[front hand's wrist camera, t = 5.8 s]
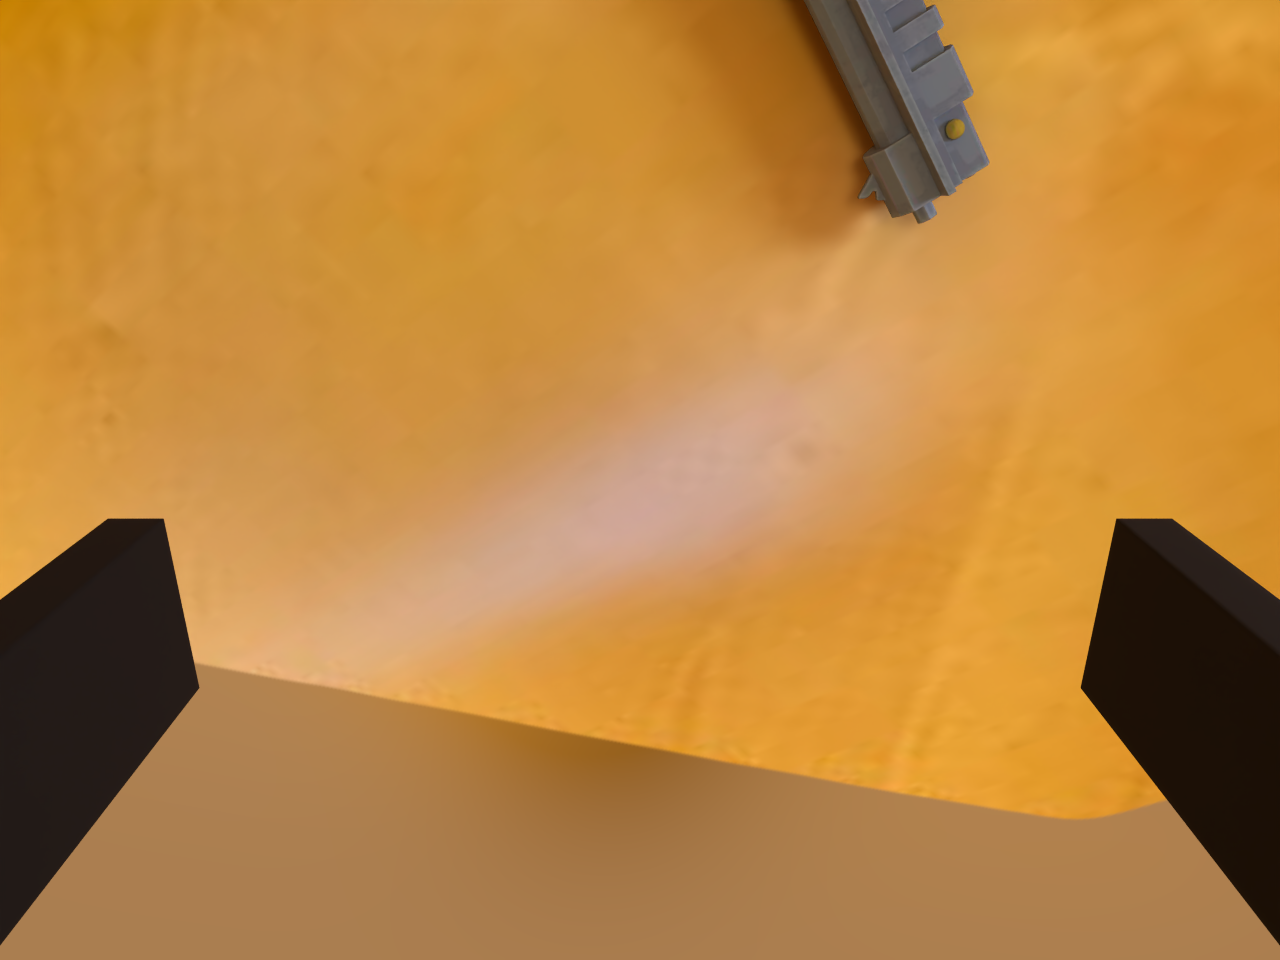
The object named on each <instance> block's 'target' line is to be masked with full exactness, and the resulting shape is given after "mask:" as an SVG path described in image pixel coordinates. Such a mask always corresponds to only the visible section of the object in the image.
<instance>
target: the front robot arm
mask: <svg viewBox="0 0 1280 960" xmlns="http://www.w3.org/2000/svg"><path fill="white" fill-rule="evenodd" d="M198 689H199V684H198V679H197V675H196V670H195V665H194V660H193V656H192V651H191V646H190V641H189V637H188V632H187V627H186V622H185V618H184V613H183V608H182V603H181V599H180V594H179V589H178V585H177V580H176V575H175V570H174V566H173V561H172V556H171V551H170V547H169V542H168V537H167V532H166V528H165V523H164V519H107V520H106V521H104V522H103V523H102V524H100V525H99V526H98V527H96V528H95V529H94V530H92V531H91V532H90V533H88V534H87V535H86V536H84V537H83V538H82V539H80V540H79V541H78V542H76V543H75V544H74V545H72V546H71V547H70V548H68V549H67V550H66V551H64V552H63V553H62V554H60V555H59V556H58V557H56V558H55V559H54V560H52V561H51V562H50V563H48V564H47V565H46V566H44V567H43V568H42V569H40V570H39V571H38V572H37V573H35V574H34V575H33V576H31V577H30V578H29V579H27V580H26V581H25V582H23V583H22V584H21V585H19V586H18V587H17V588H15V589H14V590H13V591H11V592H10V593H9V594H7V595H6V596H5V597H3V598H2V599H1V600H0V945H1V944H2V942H3V941H4V940H5V938H6V937H7V936H8V935H9V933H10V932H11V931H12V929H13V928H14V927H15V925H16V924H17V923H18V922H19V920H20V919H21V918H22V916H23V915H24V914H25V913H26V911H27V910H28V909H29V907H30V906H31V905H32V903H33V902H34V901H35V900H36V898H37V897H38V896H39V894H40V893H41V892H42V891H43V889H44V888H45V887H46V885H47V884H48V883H49V882H50V880H51V879H52V878H53V876H54V875H55V874H56V872H57V871H58V870H59V869H60V867H61V866H62V865H63V863H64V862H65V861H66V859H67V858H68V857H69V856H70V854H71V853H72V852H73V850H74V849H75V848H76V847H77V845H78V844H79V843H80V841H81V840H82V839H83V837H84V836H85V835H86V834H87V832H88V831H89V830H90V829H91V827H92V826H93V825H94V823H95V822H96V821H97V819H98V818H99V817H100V816H101V814H102V813H103V812H104V810H105V809H106V808H107V807H108V805H109V804H110V803H111V801H112V800H113V799H114V797H115V796H116V795H117V794H118V792H119V791H120V790H121V788H122V787H123V786H124V785H125V783H126V782H127V781H128V779H129V778H130V777H131V776H132V774H133V773H134V772H135V770H136V769H137V768H138V766H139V765H140V764H141V763H142V761H143V760H144V759H145V757H146V756H147V755H148V754H149V752H150V751H151V750H152V748H153V747H154V746H155V745H156V743H157V742H158V741H159V739H160V738H161V737H162V735H163V734H164V733H165V732H166V730H167V729H168V728H169V726H170V725H171V724H172V722H173V721H174V720H175V719H176V717H177V716H178V715H179V713H180V712H181V711H182V710H183V708H184V707H185V706H186V704H187V703H188V702H189V701H190V699H191V698H192V697H193V695H194V694H195V693H196V691H197V690H198ZM1081 689H1082V690H1083V692H1084V693H1085V694H1086V695H1087V697H1088V698H1089V699H1090V701H1091V702H1092V703H1093V704H1094V706H1095V707H1096V708H1097V710H1098V711H1099V712H1100V713H1101V715H1102V716H1103V717H1104V719H1105V720H1106V721H1107V723H1108V724H1109V725H1110V726H1111V728H1112V729H1113V730H1114V732H1115V733H1116V734H1117V735H1118V737H1119V738H1120V739H1121V741H1122V742H1123V743H1124V745H1125V746H1126V747H1127V748H1128V750H1129V751H1130V752H1131V754H1132V755H1133V756H1134V757H1135V759H1136V760H1137V761H1138V763H1139V764H1140V765H1141V766H1142V768H1143V769H1144V770H1145V772H1146V773H1147V774H1148V776H1149V777H1150V778H1151V779H1152V781H1153V782H1154V783H1155V785H1156V786H1157V787H1158V788H1159V790H1160V791H1161V792H1162V794H1163V795H1164V796H1165V797H1166V799H1167V800H1168V801H1169V803H1170V804H1171V805H1172V807H1173V808H1174V809H1175V810H1176V812H1177V813H1178V814H1179V816H1180V817H1181V818H1182V819H1183V821H1184V822H1185V823H1186V825H1187V826H1188V827H1189V829H1190V830H1191V831H1192V832H1193V834H1194V835H1195V836H1196V838H1197V839H1198V840H1199V841H1200V843H1201V844H1202V845H1203V847H1204V848H1205V849H1206V850H1207V852H1208V853H1209V854H1210V856H1211V857H1212V858H1213V859H1214V861H1215V862H1216V863H1217V865H1218V866H1219V867H1220V869H1221V870H1222V871H1223V872H1224V874H1225V875H1226V876H1227V878H1228V879H1229V880H1230V882H1231V883H1232V884H1233V885H1234V887H1235V888H1236V889H1237V891H1238V892H1239V893H1240V894H1241V896H1242V897H1243V898H1244V900H1245V901H1246V902H1247V903H1248V905H1249V906H1250V907H1251V909H1252V910H1253V911H1254V913H1255V914H1256V915H1257V916H1258V918H1259V919H1260V920H1261V922H1262V923H1263V924H1264V925H1265V927H1266V928H1267V929H1268V931H1269V932H1270V933H1271V935H1272V936H1273V937H1274V938H1275V940H1276V941H1277V942H1278V943H1279V945H1280V600H1279V599H1278V598H1277V597H1275V596H1274V595H1273V594H1271V593H1270V592H1269V591H1267V590H1266V589H1265V588H1263V587H1262V586H1261V585H1259V584H1258V583H1257V582H1255V581H1254V580H1253V579H1251V578H1250V577H1249V576H1247V575H1246V574H1245V573H1243V572H1242V571H1241V570H1240V569H1238V568H1237V567H1236V566H1234V565H1233V564H1232V563H1230V562H1229V561H1228V560H1226V559H1225V558H1224V557H1222V556H1221V555H1220V554H1218V553H1217V552H1216V551H1214V550H1213V549H1212V548H1210V547H1209V546H1208V545H1206V544H1205V543H1204V542H1202V541H1201V540H1200V539H1198V538H1197V537H1196V536H1194V535H1193V534H1192V533H1190V532H1189V531H1188V530H1186V529H1185V528H1184V527H1182V526H1181V525H1180V524H1178V523H1177V522H1176V521H1174V520H1173V519H1116V523H1115V528H1114V532H1113V537H1112V542H1111V547H1110V551H1109V556H1108V561H1107V566H1106V570H1105V575H1104V580H1103V585H1102V589H1101V594H1100V599H1099V603H1098V608H1097V613H1096V618H1095V622H1094V627H1093V632H1092V637H1091V641H1090V646H1089V651H1088V656H1087V660H1086V665H1085V670H1084V674H1083V679H1082V684H1081Z"/></svg>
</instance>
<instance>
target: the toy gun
mask: <svg viewBox="0 0 1280 960" xmlns="http://www.w3.org/2000/svg"><path fill="white" fill-rule="evenodd" d="M804 2H805V4H806V6H807V8H808V10H809V12H810V14H811V16H812V18H813V20H814V22H815V24H816V26H817V28H818V30H819V32H820V34H821V36H822V39H823V41H824V43H825V45H826V47H827V49H828V51H829V53H830V55H831V57H832V59H833V61H834V63H835V65H836V67H837V69H838V71H839V73H840V75H841V77H842V79H843V81H844V84H845V86H846V88H847V90H848V92H849V94H850V96H851V98H852V100H853V102H854V104H855V106H856V108H857V110H858V112H859V114H860V116H861V118H862V120H863V122H864V124H865V126H866V129H867V131H868V133H869V135H870V137H871V139H872V141H873V143H874V145H875V146H873V147H871V148H870V149H869V150H868V151H867V152H866V153H865V154H864V156H863V160H864V162H865V164H866V166H867V168H868V170H869V172H870V175H869V177H868V179H867V181H866V182H865V184H864V186H863V188H862V189H861V191H860V193H859V195H858V198H859V199H862V198H867V197H869V196H870V194H871V193H872V191H875V197H876V200H884V202H885V204H886V206H887V208H888V210H889V212H890V214H891V216H892V218H893V217H900V216H903V215H906V214H909V213H911V212H913V214H914V216H915V218H916V220H917V222H918V223H923V222H925V221H928V220H930V219H931V218H933V217H934V216H935V215H936V214H937V212H936V210H935V208H934V206H933V204H932V201H933V200H934V199H936V198H938V197H939V196H949V195H951V194H952V193H954V192H956V189H955V187H956V186H958V185H959V184H961V183H963V182H962V180H964V179H966V178H969V177H971V176H972V175H974V174H975V173H976V172H977V171H979V170H981V169H982V168H984V167H986V166H987V165H989V160H988V158H987V155H986V153H985V151H984V149H983V146H982V144H981V142H980V140H979V138H978V135H977V133H976V131H975V129H974V126H973V124H972V122H971V120H970V117H969V115H968V113H967V111H966V108H965V106H964V104H963V102H962V101H964V100H966V99H967V98H969V97H971V96H972V94H973V89H972V87H971V85H970V83H969V80H968V78H967V76H966V74H965V71H964V69H963V67H962V65H961V62H960V60H959V58H958V55H957V53H956V51H955V49H954V46H953V45H948V46H945V47H944V46H943V44H942V42H941V40H940V37H939V35H938V33H937V31H938V30H939V29H941V28H942V27H943V26H944V24H943V21H942V19H941V17H940V15H939V12H938V10H937V8H936V6H935V5H932V6H930V7H927V8H926V6H925V4H924V1H923V0H804Z"/></svg>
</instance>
